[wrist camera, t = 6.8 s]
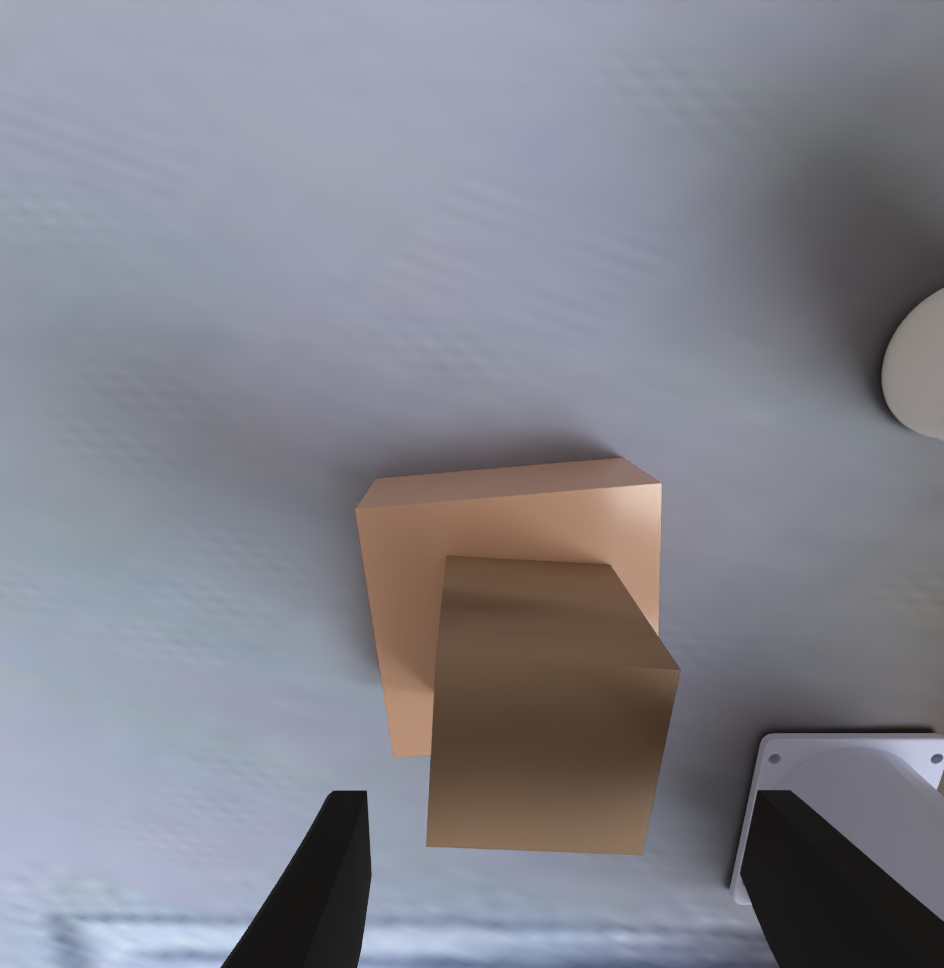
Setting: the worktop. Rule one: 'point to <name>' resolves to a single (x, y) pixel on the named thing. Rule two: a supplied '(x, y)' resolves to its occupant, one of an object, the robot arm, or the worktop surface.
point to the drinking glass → (918, 369)
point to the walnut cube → (545, 709)
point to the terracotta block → (491, 554)
